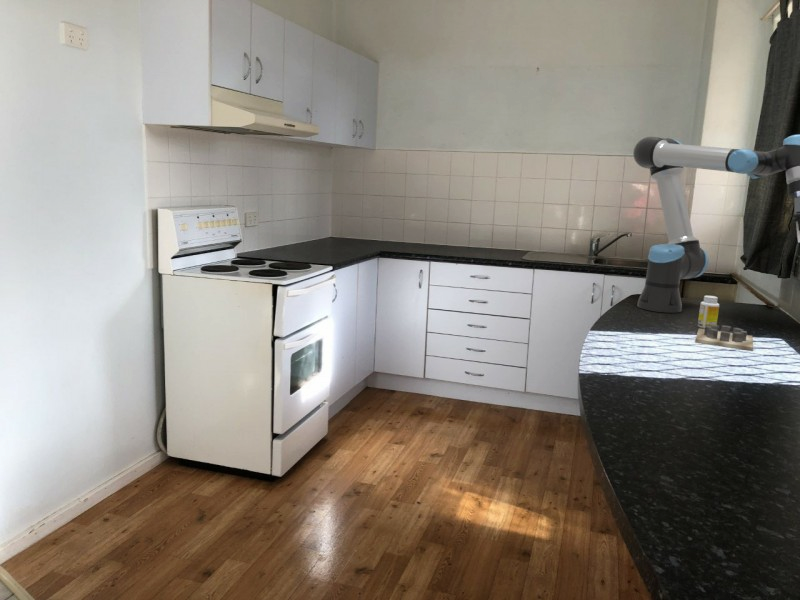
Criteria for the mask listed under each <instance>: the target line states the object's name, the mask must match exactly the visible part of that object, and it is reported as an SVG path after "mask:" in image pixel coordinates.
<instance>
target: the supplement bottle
mask: <svg viewBox="0 0 800 600" xmlns="http://www.w3.org/2000/svg"><path fill="white" fill-rule="evenodd" d="M719 309H720V303H718V296H715V295H704V297H703V301H701V302H700V305H699V312H698V319H697V327H698V328H700V329H705V326H709V325H717V324H718V318H719V311H720V310H719ZM717 326H718V325H717Z"/></svg>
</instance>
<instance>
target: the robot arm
mask: <svg viewBox="0 0 800 600" xmlns="http://www.w3.org/2000/svg"><path fill="white" fill-rule="evenodd" d="M632 155H633V159H634V161H635V163H636V164H637V165H638V166H639V167H641V168H644V169H649V173H650V177H651V178H652V179H653V180H655V181H656V185H657V189H658V194H659V199H660V204H661V208H662V213H663V218H664V224H665V229H666V233H667V238H668V239H667V240H668V243H660V244H655V245H653V246H651V247H650V248H649V252H648V255H647V259H648V260H647V267H646V274H645V281H644V282H645V284H644V288H643V289H642V291H641V293H640V296H639V298H638V300H637V304H636V305H637V307H638V308H639V309H642V310H646V311H651V312H659V313H666V314H667V313H669V314H670V313H671V314H674V313H675V314H677V313H681V312H682V309H683V304H682V299H681V294H680V284H681V280H690V279H695V278H698V277H701V276H702V275H703V274H704V273H705V271H707V269H708V266H709V256H708V253H707V251H705V250H704V249H703V248H702V247H701V246H700V245H701V244H700V241H699V239H698V238H696V237H695V236H694V235H693V229H692V224H691V220H690V214H689V210H688V205H687V200H686V195H685V190H684V186H683V182H682V174H683V171H684V170H685V169H684V168H690V169H700V170H710V171H719V172H726V173H727V172H729V173H735V174H741V175H744V174H745V175H747V176H748V177H749V178H750V179H752V180H753V179H758V178H759V179H760V178H764V177H766V176H769V175H773V174H776V173H779V172H783V171H785V178H786V181H785V182H786V184H787V186H786V187H787V196H788V197H789V198H793V200H794V201H793V203H794V204H793V205H794V213H793V214H794V215H793V217H792V221H793V222H795V225H796V237H797V242H798V243H800V134H792V135H790V136H787V137H786V138H784V139H783V141H782V146H781V147H779V148H776V149H772V150H770V151H760V150H751V149H748V148H747V149H745V148H742V149H739V148H730V147H729V148H728V147H717V146H707V145H706V146H705V145H693V144H683V143H682V142H680V141H678V140H676V139H674V138H669V137H668V138H667V137H666V138H665V137H657V136H647V137H643V138H642V139H640V140H639V141H638V142H637V143H636V144H635V146H634V149H633V154H632Z"/></svg>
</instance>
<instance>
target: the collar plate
mask: <svg viewBox="0 0 800 600" xmlns="http://www.w3.org/2000/svg"><path fill="white" fill-rule="evenodd" d="M719 327H720V325H709V326H705V329H704V328H700V327H698V330H697V333H696V336H695V341H694V342H695V343H698V344H705V345H710V346H711V345H712V346H717V345H718V347H723V348H724V347H725V348H731V349H739V350H745V351H754V340H753V339H754V338H753V335H749V334H748V331H746V330H744V329H742V328H739V327H733V328H732V327H731V326H730V325H721V329H720V331H719ZM731 328H732V332H731Z"/></svg>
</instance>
